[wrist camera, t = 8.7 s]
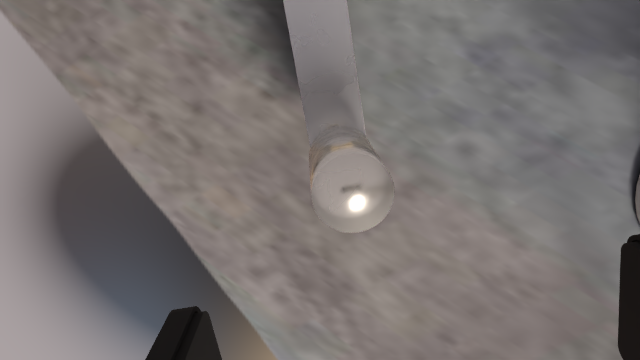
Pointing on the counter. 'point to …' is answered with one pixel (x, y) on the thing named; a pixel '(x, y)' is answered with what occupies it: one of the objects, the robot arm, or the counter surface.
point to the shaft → (336, 119)
